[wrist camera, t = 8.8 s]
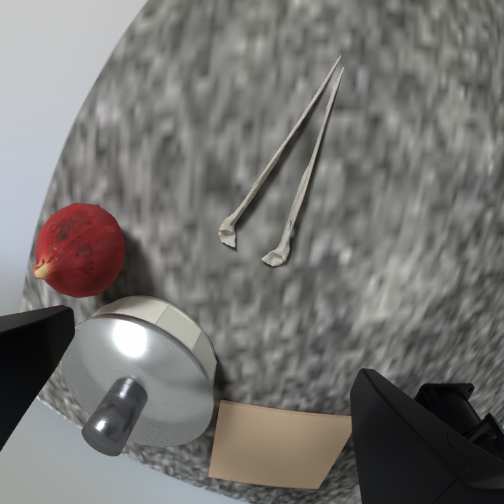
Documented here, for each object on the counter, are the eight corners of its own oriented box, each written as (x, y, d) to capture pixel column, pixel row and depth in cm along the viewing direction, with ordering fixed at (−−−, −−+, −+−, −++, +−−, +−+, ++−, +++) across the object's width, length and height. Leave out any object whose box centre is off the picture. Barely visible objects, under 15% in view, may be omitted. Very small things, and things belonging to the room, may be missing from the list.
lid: (224, 337, 18) (205, 402, 12) (206, 453, 21) (193, 511, 15) (59, 294, 18) (5, 332, 13) (77, 413, 21) (46, 457, 16)
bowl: (225, 311, 22) (215, 340, 18) (210, 415, 25) (201, 448, 21) (92, 281, 22) (64, 300, 18) (100, 384, 25) (80, 410, 21)
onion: (94, 182, 20) (18, 194, 13) (156, 224, 21) (96, 256, 13) (67, 249, 22) (-2, 282, 14) (124, 290, 22) (66, 342, 14)
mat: (357, 416, 24) (358, 419, 23) (317, 486, 27) (317, 489, 27) (220, 399, 24) (220, 402, 24) (208, 473, 27) (208, 476, 27)
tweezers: (280, 267, 22) (281, 274, 20) (216, 237, 21) (211, 241, 19) (380, 53, 18) (389, 42, 16) (322, 24, 18) (326, 11, 16)
